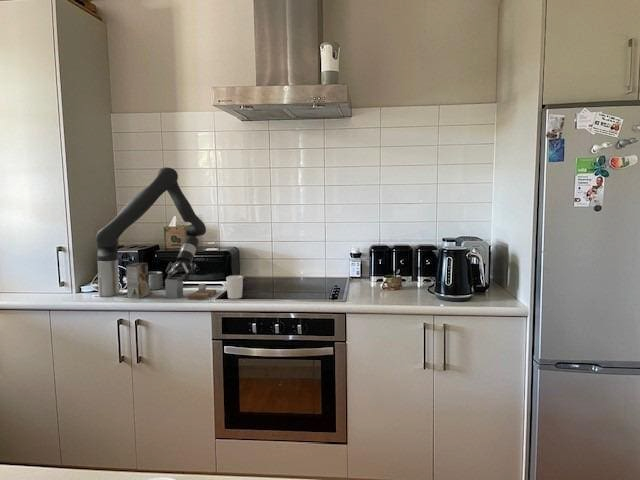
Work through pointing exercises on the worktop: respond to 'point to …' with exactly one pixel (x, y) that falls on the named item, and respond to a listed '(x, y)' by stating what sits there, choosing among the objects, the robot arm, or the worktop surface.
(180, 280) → the socket
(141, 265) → the coffee box
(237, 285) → the white cup
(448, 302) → the worktop surface
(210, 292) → the post block
